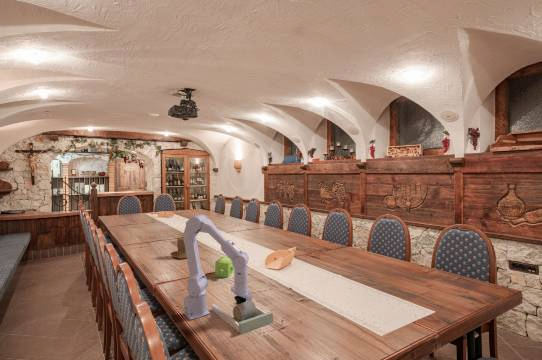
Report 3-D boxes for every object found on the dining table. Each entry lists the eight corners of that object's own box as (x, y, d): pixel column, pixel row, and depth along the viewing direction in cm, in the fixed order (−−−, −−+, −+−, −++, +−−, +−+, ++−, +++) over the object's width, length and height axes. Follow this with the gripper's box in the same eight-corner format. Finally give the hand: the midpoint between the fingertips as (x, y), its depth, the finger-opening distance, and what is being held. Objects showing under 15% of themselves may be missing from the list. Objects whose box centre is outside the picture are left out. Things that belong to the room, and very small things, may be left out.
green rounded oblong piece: (228, 281, 181) (228, 265, 180) (212, 279, 183) (212, 263, 183) (238, 271, 199) (238, 256, 198) (223, 269, 201) (223, 255, 200)
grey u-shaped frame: (241, 334, 121) (240, 323, 121) (211, 309, 143) (211, 301, 143) (273, 322, 130) (272, 312, 130) (240, 301, 152) (240, 293, 152)
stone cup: (194, 257, 232) (193, 237, 232) (179, 260, 224) (178, 240, 224) (184, 253, 243) (183, 234, 243) (169, 256, 235) (169, 237, 235)
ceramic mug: (231, 319, 132) (231, 302, 132) (248, 314, 137) (248, 297, 137) (244, 330, 124) (243, 311, 123) (261, 324, 128) (261, 306, 128)
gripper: (257, 284, 132) (258, 315, 132) (240, 274, 143) (240, 303, 144) (243, 287, 128) (243, 320, 128) (226, 278, 139) (227, 308, 140)
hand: (241, 312), depth 136 cm, fingers closed, pressing on ceramic mug
